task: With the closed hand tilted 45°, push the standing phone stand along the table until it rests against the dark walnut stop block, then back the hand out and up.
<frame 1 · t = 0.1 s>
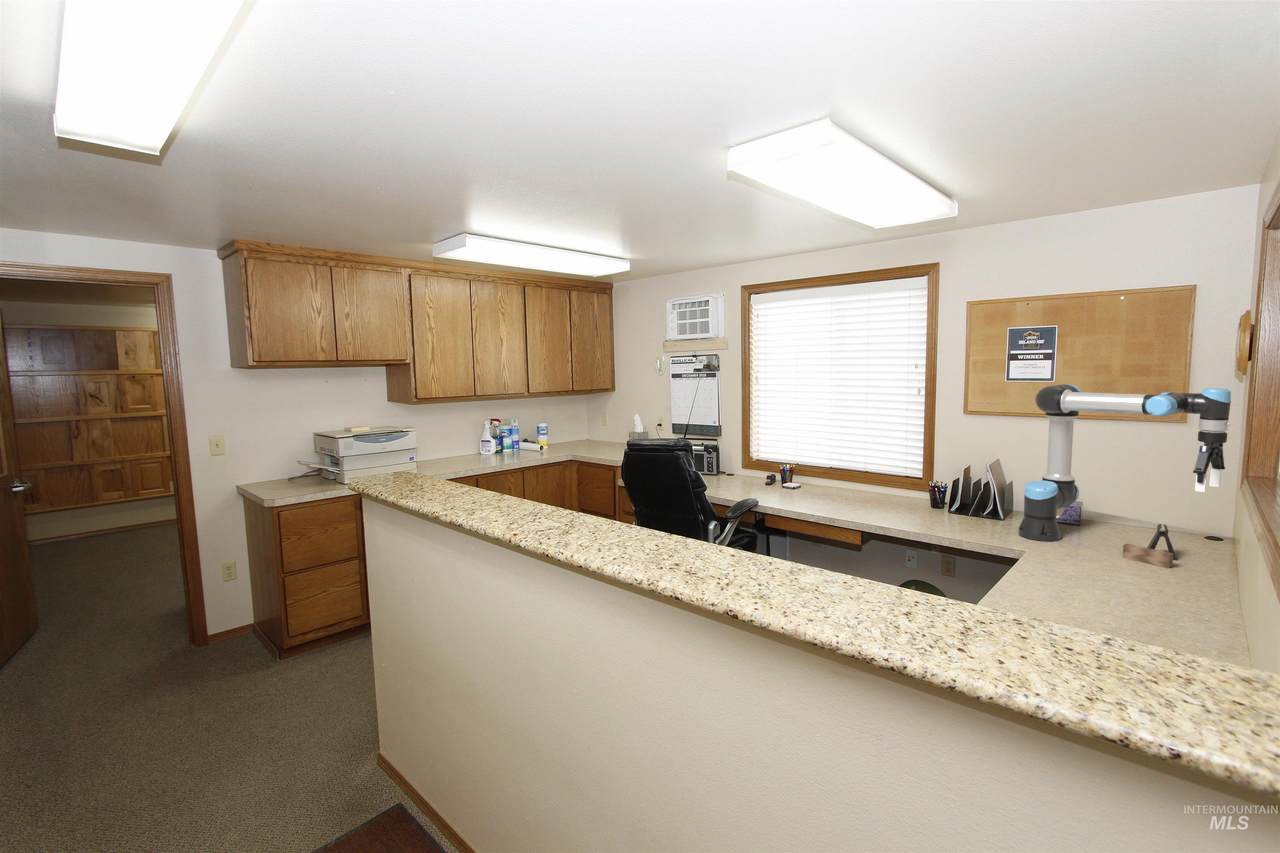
hand: (1207, 489, 212), 28 cm above the counter, tool pointing down, fingers open, 13 cm apart
stop block: (1146, 562, 219), on the counter
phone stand: (1160, 556, 224), on the counter
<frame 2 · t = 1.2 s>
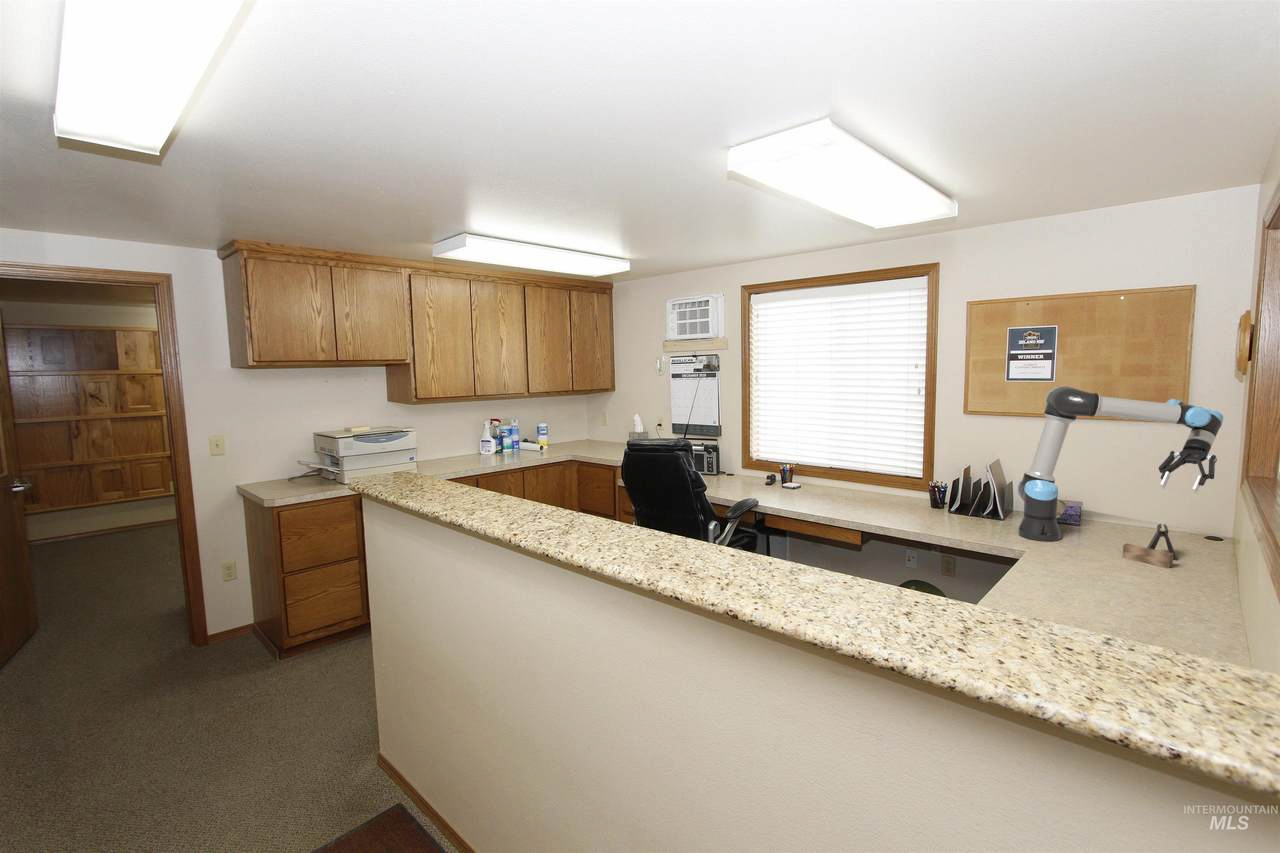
hand: (1178, 488, 226), 25 cm above the counter, tool tilted 45°, fingers open, 9 cm apart
nothing on the counter moved.
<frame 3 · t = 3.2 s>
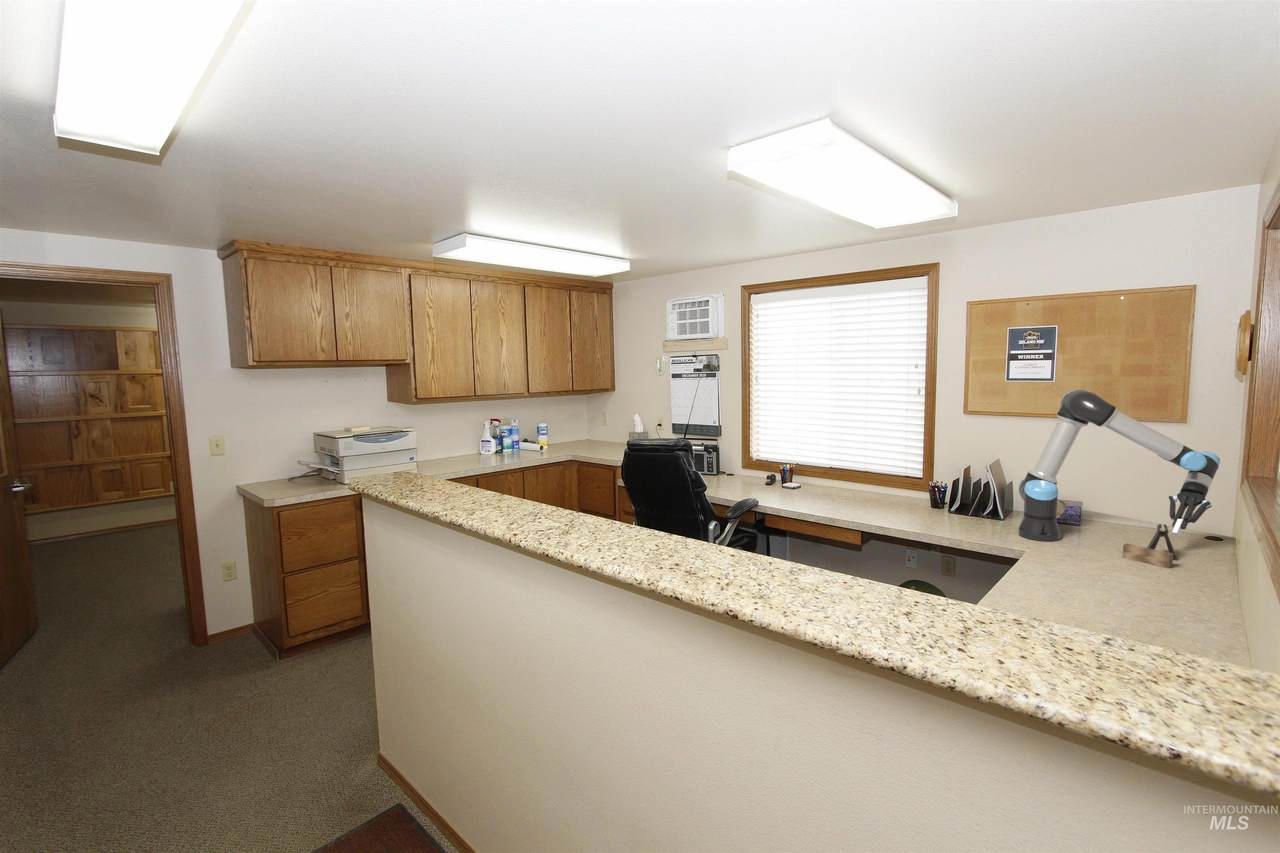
hand: (1175, 534, 227), 7 cm above the counter, tool tilted 45°, fingers closed
nothing on the counter moved.
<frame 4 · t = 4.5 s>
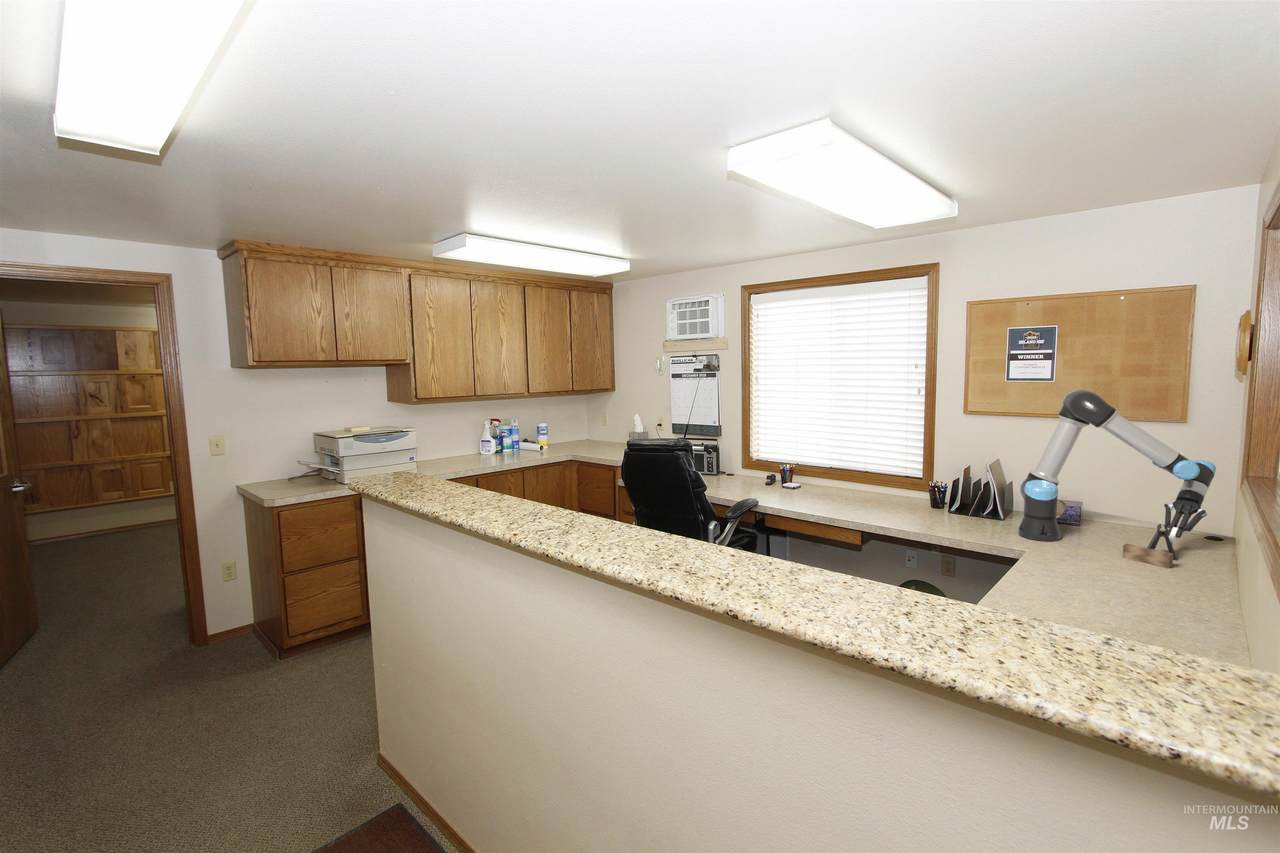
hand: (1170, 542, 227), 4 cm above the counter, tool tilted 45°, fingers closed
nothing on the counter moved.
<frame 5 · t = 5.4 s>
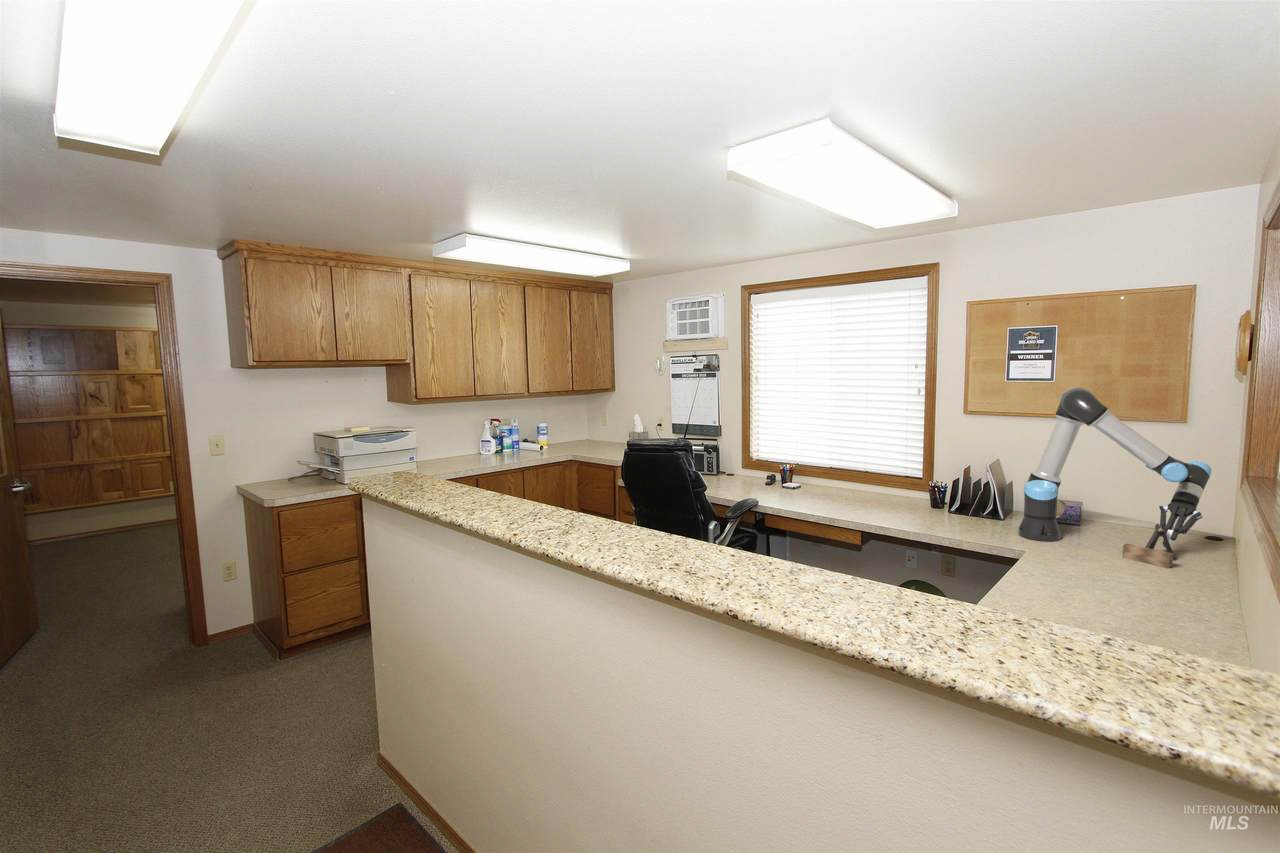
hand: (1165, 545, 224), 4 cm above the counter, tool tilted 45°, fingers closed
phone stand: (1158, 556, 224), on the counter, touching gripper
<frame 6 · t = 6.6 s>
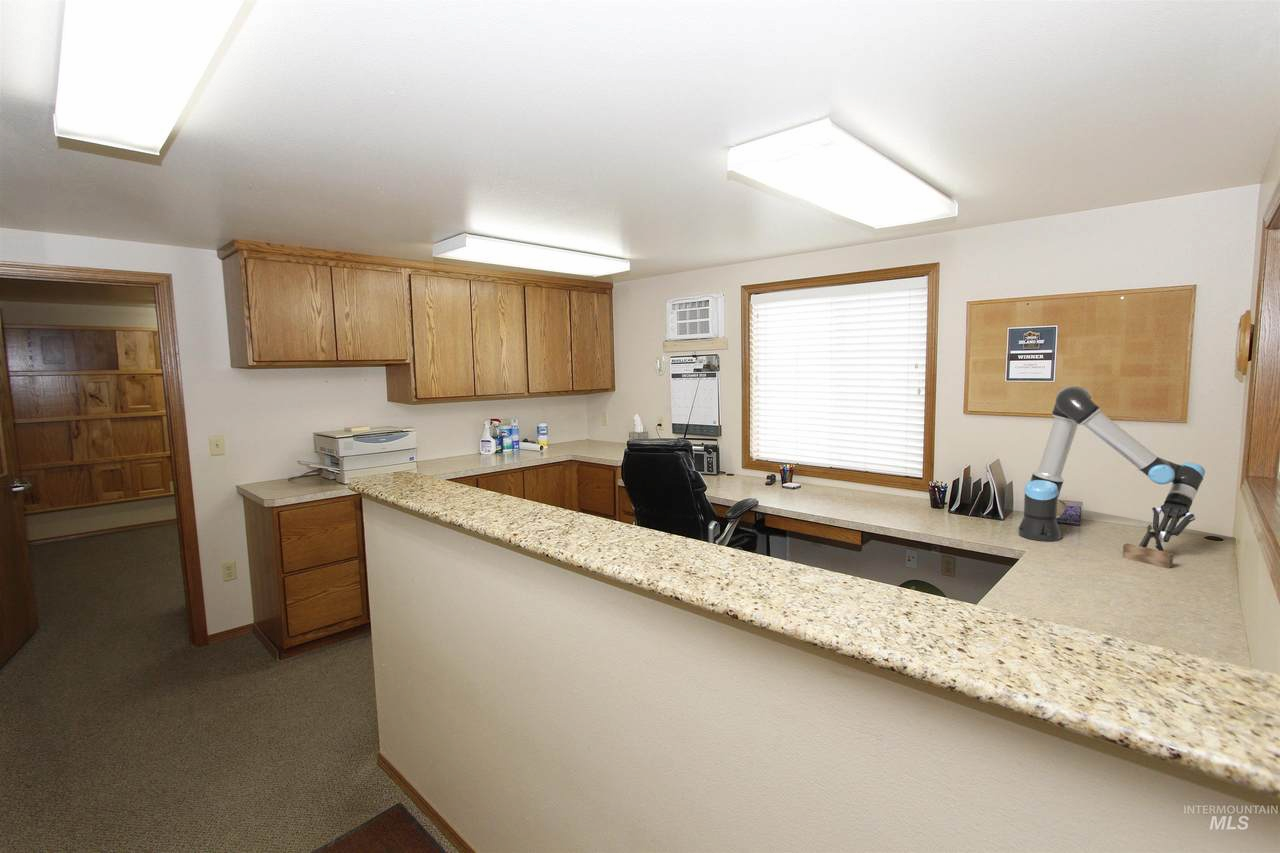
hand: (1158, 547, 222), 4 cm above the counter, tool tilted 45°, fingers closed
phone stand: (1150, 557, 223), on the counter, touching gripper
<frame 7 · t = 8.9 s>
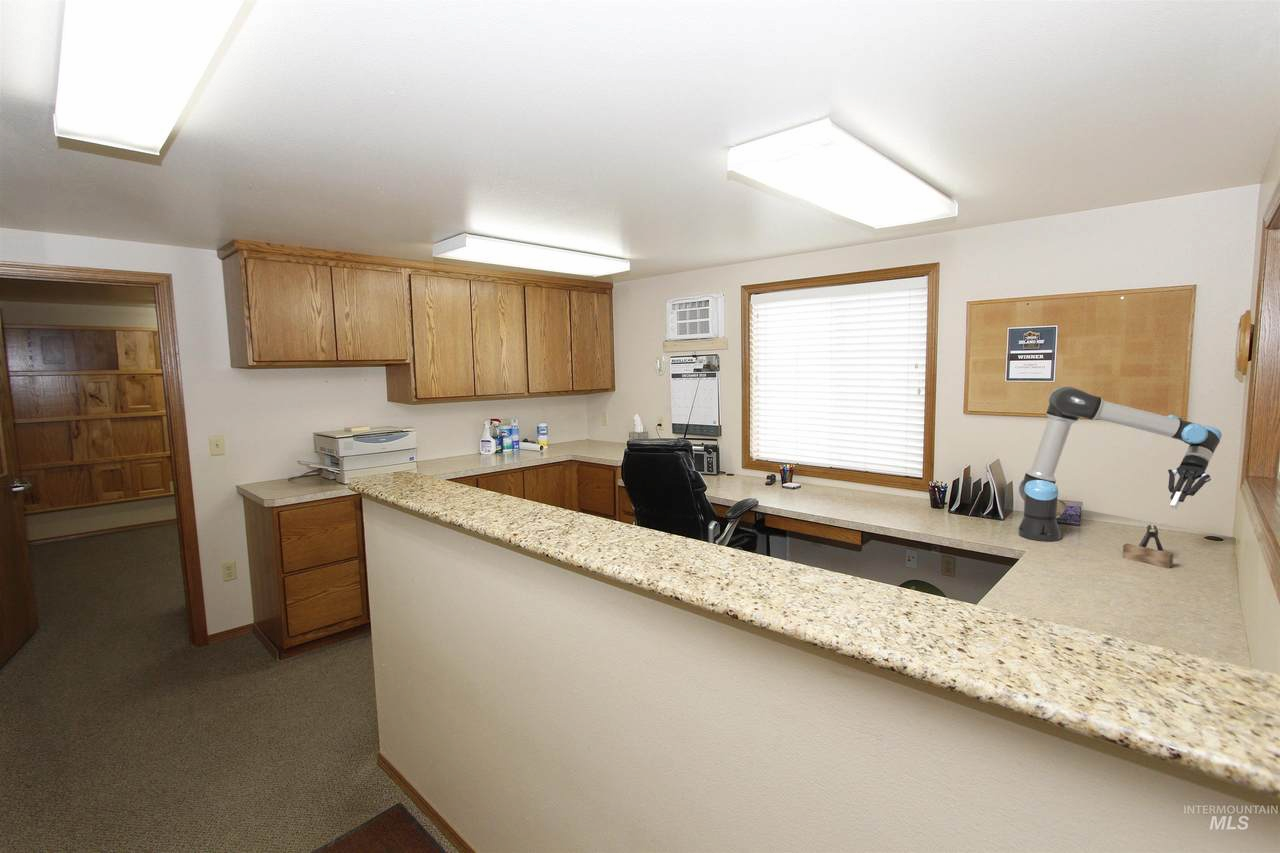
hand: (1173, 506, 226), 18 cm above the counter, tool tilted 45°, fingers closed
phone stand: (1150, 557, 223), on the counter
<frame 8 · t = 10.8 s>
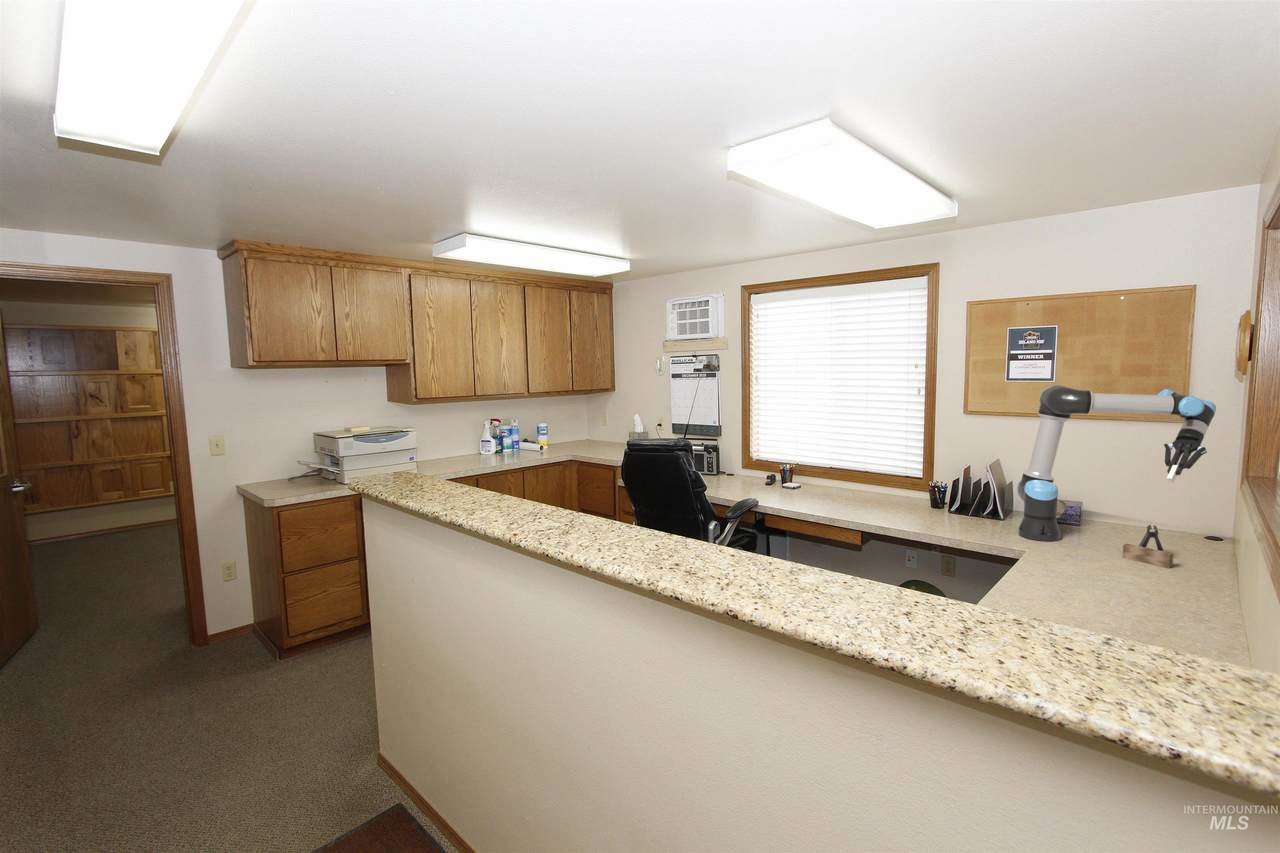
hand: (1170, 480, 227), 28 cm above the counter, tool tilted 45°, fingers closed
nothing on the counter moved.
at the end: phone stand inside the target area on the counter beside the stop block (2.1 cm from its centre), on the counter; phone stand tilted 0°; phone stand moved 4.5 cm from its start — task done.
